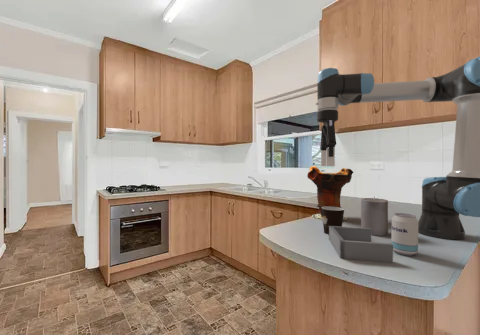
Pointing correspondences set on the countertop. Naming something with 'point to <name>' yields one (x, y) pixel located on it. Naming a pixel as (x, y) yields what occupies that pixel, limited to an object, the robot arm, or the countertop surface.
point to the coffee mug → (332, 217)
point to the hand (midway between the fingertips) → (327, 166)
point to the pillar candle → (375, 215)
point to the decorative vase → (329, 187)
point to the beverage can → (404, 234)
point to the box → (359, 244)
